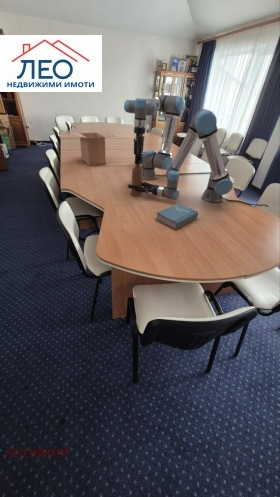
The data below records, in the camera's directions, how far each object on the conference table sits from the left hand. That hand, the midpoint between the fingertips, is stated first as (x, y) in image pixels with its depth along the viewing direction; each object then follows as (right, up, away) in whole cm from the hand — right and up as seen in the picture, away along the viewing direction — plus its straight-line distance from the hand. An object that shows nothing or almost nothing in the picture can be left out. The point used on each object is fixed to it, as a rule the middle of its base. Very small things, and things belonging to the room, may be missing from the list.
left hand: (137, 163), depth 159 cm
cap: (0, +2, -1) cm, 2 cm away
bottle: (-1, -19, +14) cm, 23 cm away
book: (+26, -43, -16) cm, 52 cm away
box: (-48, +32, +78) cm, 97 cm away
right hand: (-5, -12, +11) cm, 17 cm away
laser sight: (+9, +33, +84) cm, 91 cm away
